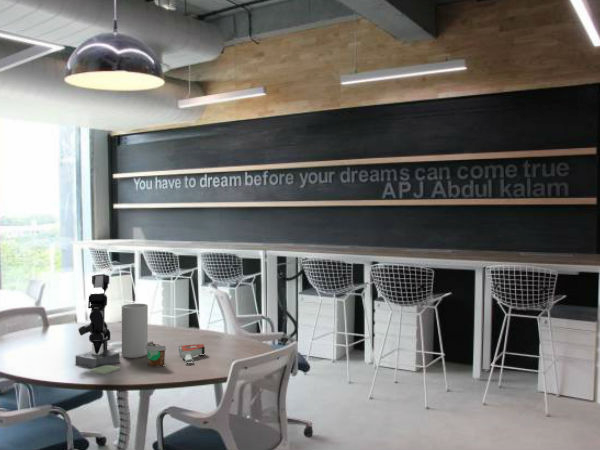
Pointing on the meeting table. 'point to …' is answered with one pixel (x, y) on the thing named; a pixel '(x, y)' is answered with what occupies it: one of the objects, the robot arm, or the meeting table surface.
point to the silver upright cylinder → (99, 351)
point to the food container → (155, 354)
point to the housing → (97, 359)
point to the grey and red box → (191, 351)
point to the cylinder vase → (134, 330)
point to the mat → (105, 369)
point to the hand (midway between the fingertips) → (97, 351)
